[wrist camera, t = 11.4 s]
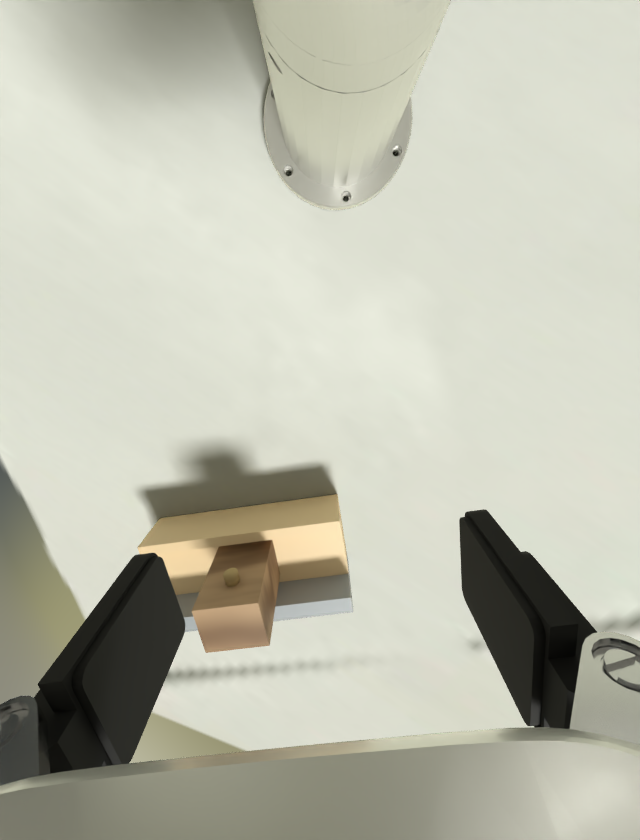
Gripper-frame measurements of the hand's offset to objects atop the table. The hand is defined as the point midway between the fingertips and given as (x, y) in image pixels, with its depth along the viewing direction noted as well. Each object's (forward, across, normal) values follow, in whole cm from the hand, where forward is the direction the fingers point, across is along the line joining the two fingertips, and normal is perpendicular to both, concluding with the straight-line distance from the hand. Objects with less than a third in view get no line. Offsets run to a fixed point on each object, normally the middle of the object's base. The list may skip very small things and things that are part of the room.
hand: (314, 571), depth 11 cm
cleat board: (+28, +11, +19) cm, 36 cm away
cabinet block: (+24, +11, +18) cm, 32 cm away
